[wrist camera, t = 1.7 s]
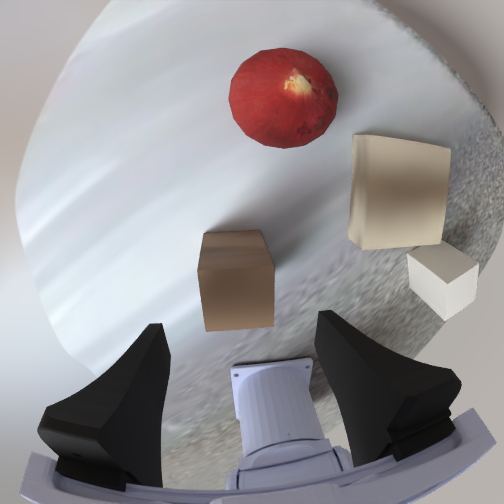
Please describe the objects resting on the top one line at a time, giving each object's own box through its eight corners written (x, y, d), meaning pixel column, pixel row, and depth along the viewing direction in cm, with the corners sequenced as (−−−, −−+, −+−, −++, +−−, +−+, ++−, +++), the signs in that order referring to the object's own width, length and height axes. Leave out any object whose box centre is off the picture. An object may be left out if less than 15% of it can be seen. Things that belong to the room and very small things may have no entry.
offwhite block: (438, 271, 24) (475, 300, 18) (409, 287, 24) (444, 321, 18) (437, 237, 22) (478, 263, 16) (406, 253, 22) (447, 284, 17)
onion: (317, 76, 16) (374, 45, 9) (306, 153, 18) (361, 163, 11) (233, 61, 15) (243, 11, 8) (222, 141, 17) (223, 139, 10)
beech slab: (420, 232, 22) (440, 243, 19) (346, 236, 21) (362, 250, 18) (428, 145, 19) (451, 148, 16) (350, 134, 18) (369, 134, 15)
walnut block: (260, 279, 21) (273, 326, 16) (208, 282, 21) (205, 331, 16) (259, 229, 20) (274, 265, 14) (203, 233, 20) (197, 270, 14)
